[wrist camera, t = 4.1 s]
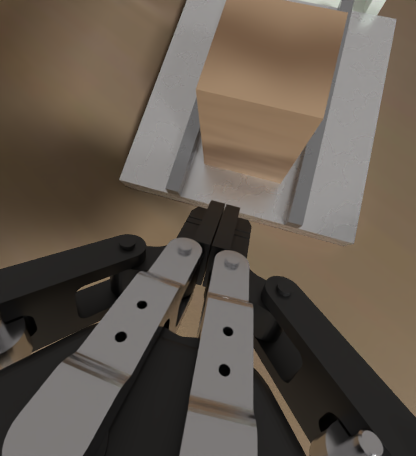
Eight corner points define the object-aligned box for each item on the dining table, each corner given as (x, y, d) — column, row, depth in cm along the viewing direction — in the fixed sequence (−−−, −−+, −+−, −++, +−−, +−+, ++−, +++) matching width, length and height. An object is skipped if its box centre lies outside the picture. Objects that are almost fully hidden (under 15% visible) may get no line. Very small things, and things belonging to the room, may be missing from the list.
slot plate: (343, 246, 20) (361, 241, 17) (126, 186, 21) (114, 174, 19) (385, 35, 23) (405, 6, 21) (195, -3, 25) (193, -33, 22)
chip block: (280, 183, 19) (323, 118, 12) (204, 164, 20) (195, 88, 12) (298, 114, 20) (347, 12, 13) (225, 97, 21) (229, -11, 13)
